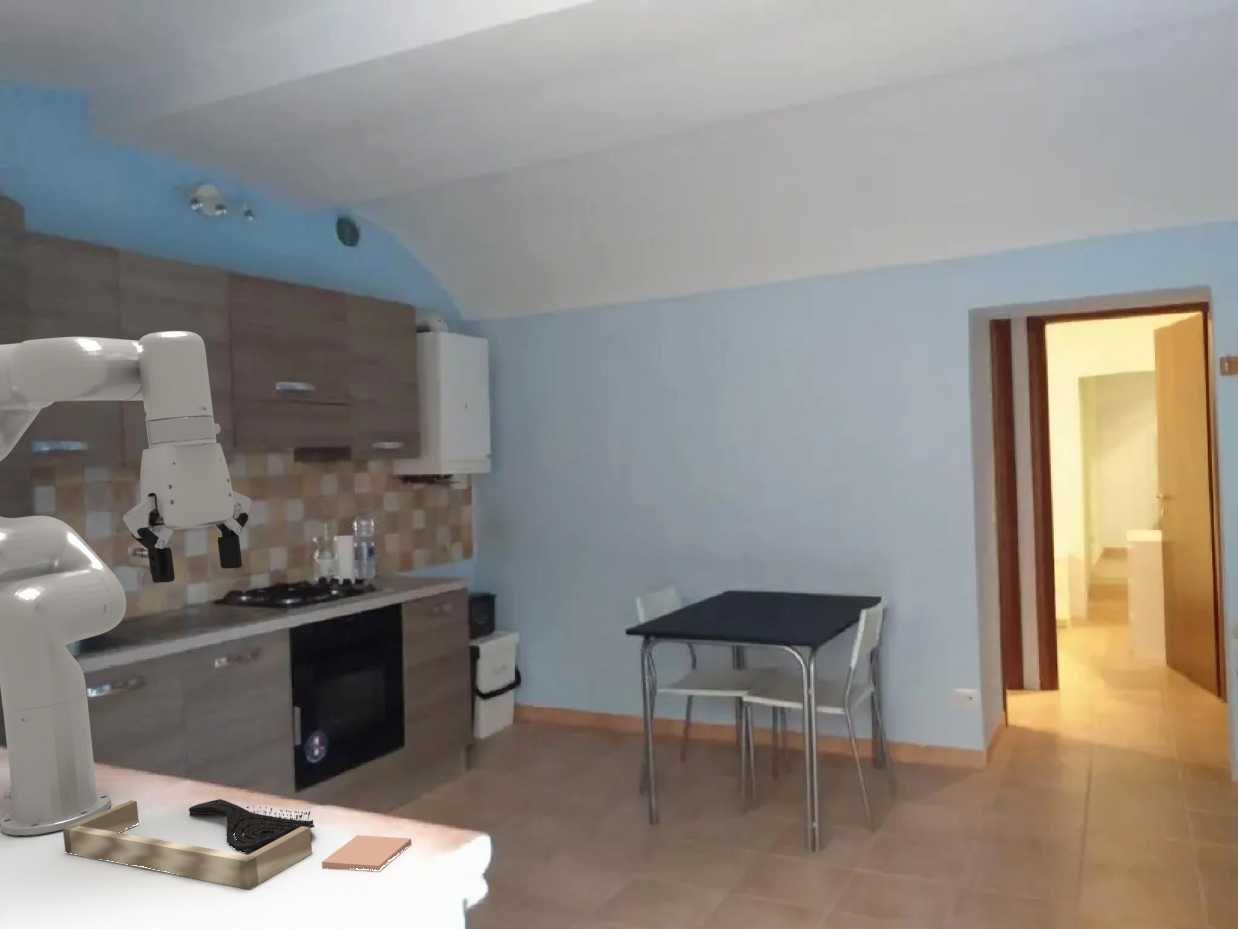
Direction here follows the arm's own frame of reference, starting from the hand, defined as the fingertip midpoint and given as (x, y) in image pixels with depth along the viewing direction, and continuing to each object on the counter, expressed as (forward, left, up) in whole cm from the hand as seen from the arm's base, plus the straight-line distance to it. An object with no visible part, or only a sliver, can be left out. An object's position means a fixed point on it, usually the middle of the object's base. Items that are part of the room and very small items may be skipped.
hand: (198, 574), depth 120 cm
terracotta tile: (+24, -1, -32) cm, 40 cm away
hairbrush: (+3, +1, -32) cm, 32 cm away
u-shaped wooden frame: (+2, -7, -31) cm, 32 cm away
